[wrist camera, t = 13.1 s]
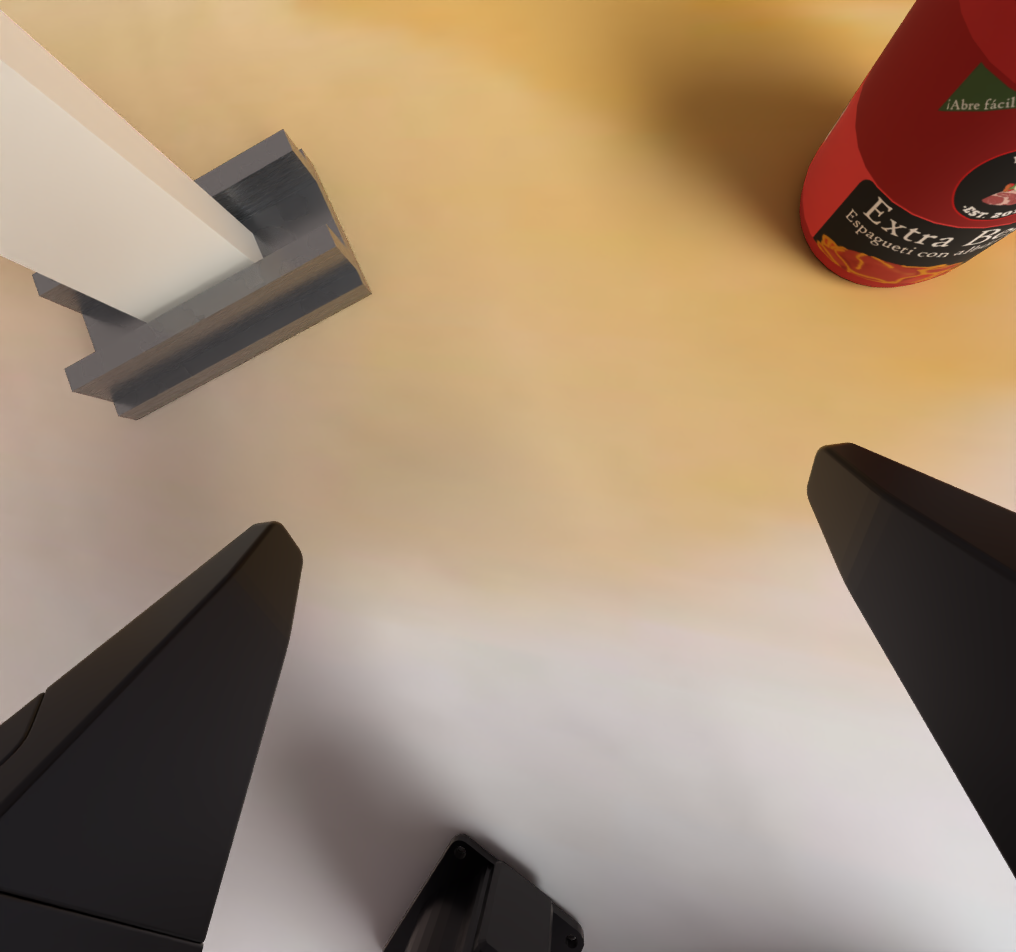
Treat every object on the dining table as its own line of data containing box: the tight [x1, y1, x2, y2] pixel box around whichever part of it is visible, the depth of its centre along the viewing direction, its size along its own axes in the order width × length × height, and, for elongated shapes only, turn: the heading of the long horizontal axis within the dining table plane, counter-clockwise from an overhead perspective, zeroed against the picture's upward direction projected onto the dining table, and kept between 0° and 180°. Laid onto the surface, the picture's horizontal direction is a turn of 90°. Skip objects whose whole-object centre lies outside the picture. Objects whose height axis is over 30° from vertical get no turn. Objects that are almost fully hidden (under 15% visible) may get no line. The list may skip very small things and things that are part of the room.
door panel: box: [0, 9, 263, 323], centre depth 17 cm, size 3×6×13 cm, turn 115°
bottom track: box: [32, 129, 372, 420], centre depth 23 cm, size 8×14×3 cm, turn 115°
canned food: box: [799, 0, 1016, 288], centre depth 15 cm, size 8×8×11 cm
